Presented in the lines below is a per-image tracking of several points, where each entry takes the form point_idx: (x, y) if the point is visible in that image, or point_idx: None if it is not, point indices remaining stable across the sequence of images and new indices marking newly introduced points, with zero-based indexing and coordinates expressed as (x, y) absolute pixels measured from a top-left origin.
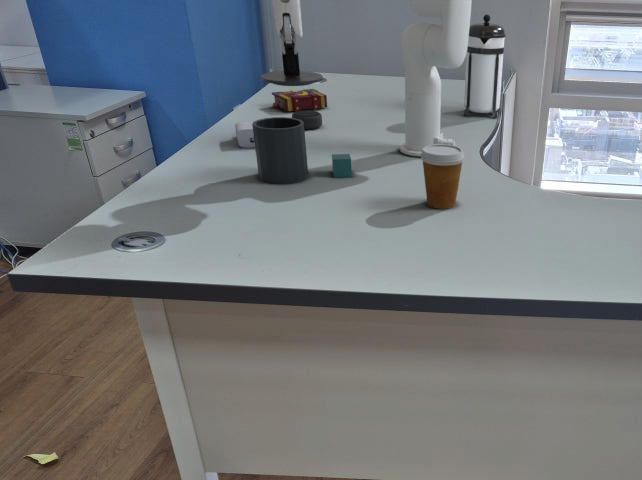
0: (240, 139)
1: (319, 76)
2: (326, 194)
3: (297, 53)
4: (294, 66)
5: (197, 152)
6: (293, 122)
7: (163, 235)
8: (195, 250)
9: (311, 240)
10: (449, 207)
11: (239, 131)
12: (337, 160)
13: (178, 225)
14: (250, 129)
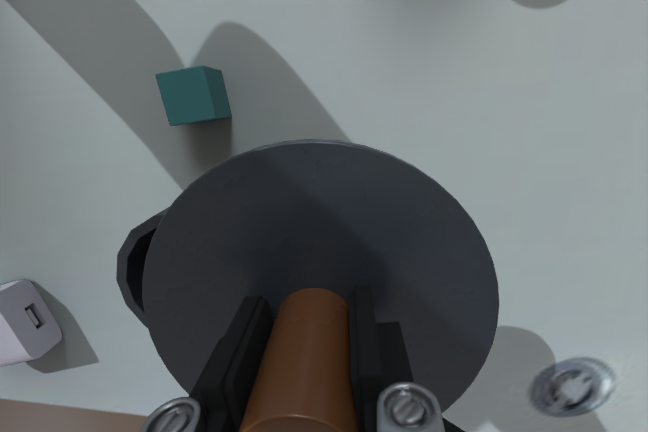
0: (49, 344)
1: (308, 162)
2: (353, 123)
3: (224, 381)
4: (403, 342)
5: (117, 396)
6: (138, 246)
7: (551, 364)
8: (629, 312)
9: (634, 125)
10: None
11: (34, 355)
12: (214, 105)
13: (509, 354)
14: (18, 338)
